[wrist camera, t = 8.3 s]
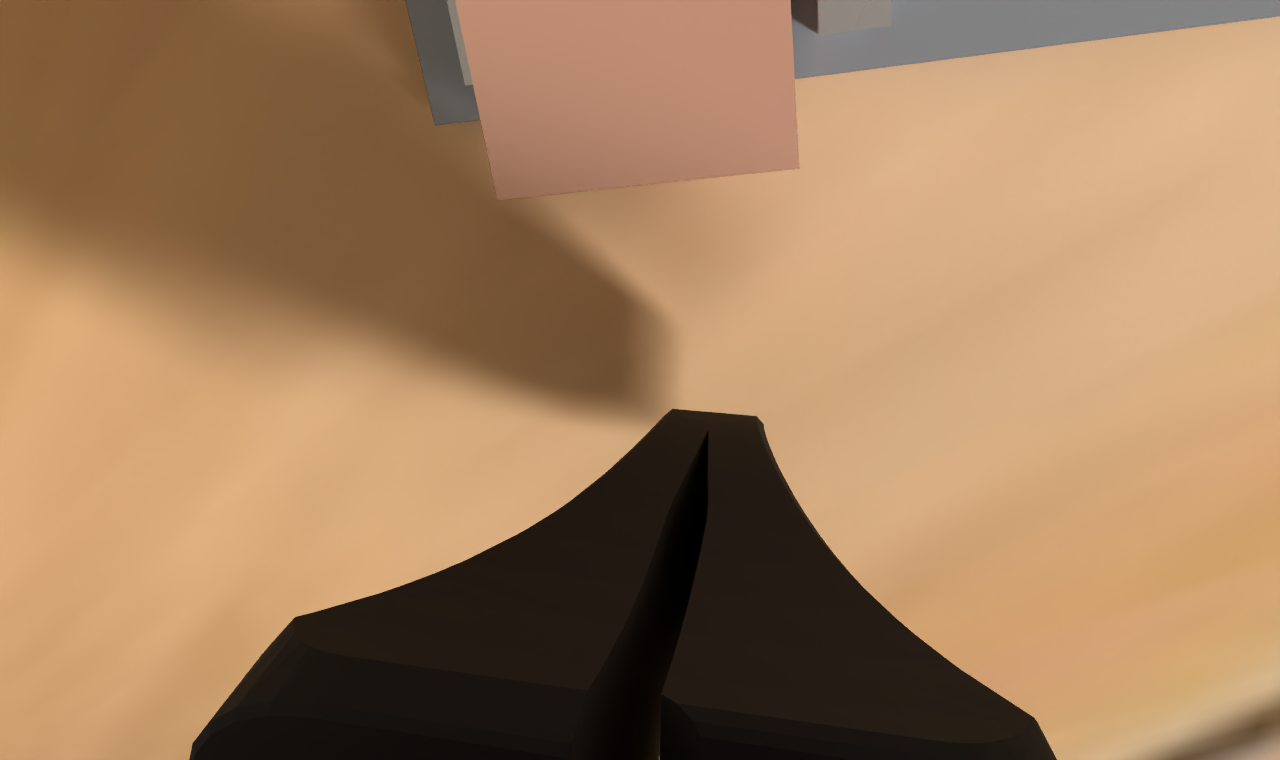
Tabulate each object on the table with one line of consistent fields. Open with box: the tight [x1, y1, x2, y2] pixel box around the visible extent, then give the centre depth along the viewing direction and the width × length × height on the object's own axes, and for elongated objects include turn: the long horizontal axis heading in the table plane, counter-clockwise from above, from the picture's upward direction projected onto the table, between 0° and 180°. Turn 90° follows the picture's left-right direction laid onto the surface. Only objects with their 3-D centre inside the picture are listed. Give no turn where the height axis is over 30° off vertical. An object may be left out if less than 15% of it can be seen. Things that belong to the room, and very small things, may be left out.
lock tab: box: [455, 0, 799, 200], centre depth 8 cm, size 3×3×3 cm
